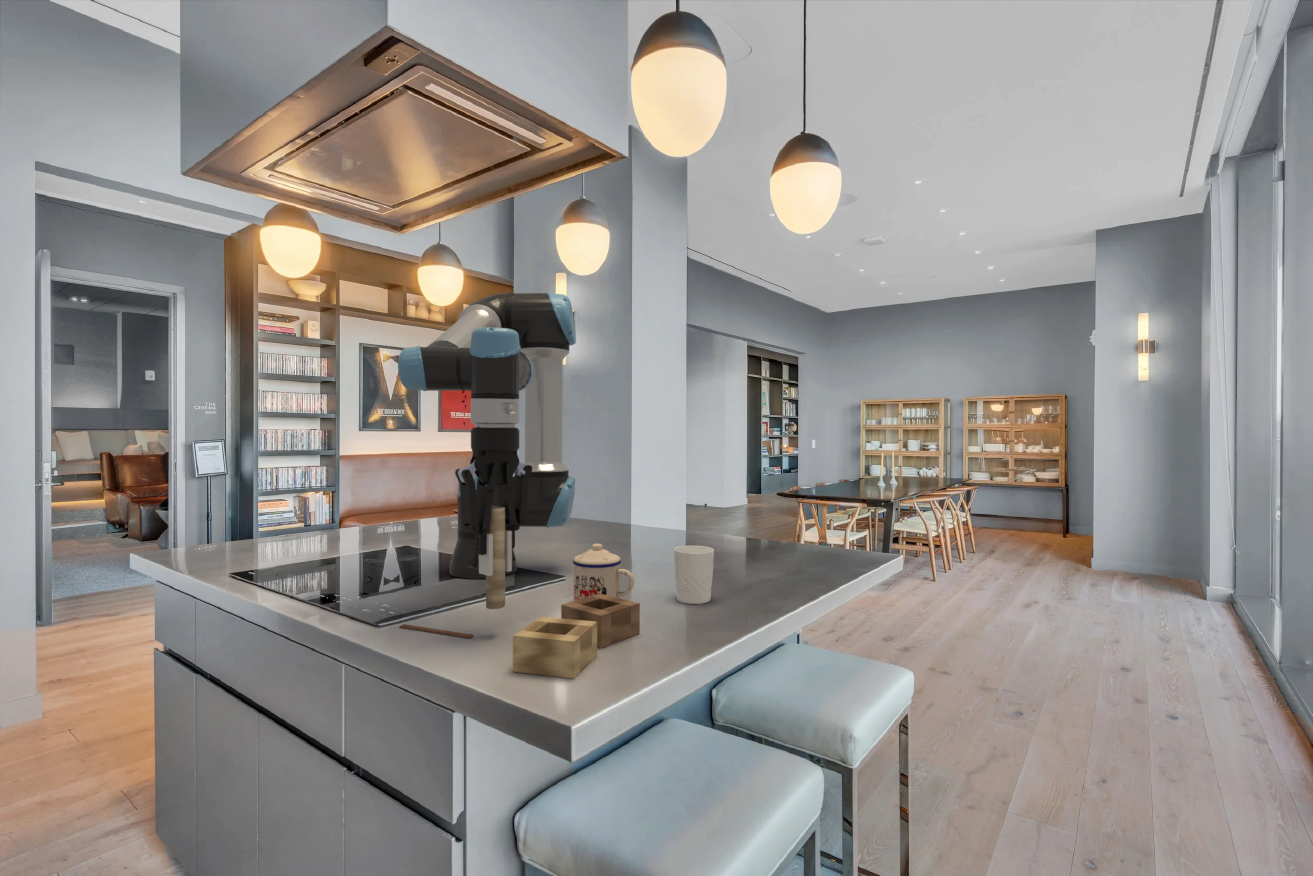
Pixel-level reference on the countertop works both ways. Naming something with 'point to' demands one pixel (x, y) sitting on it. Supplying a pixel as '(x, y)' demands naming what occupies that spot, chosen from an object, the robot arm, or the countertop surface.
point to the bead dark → (606, 617)
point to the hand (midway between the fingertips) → (495, 571)
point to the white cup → (693, 573)
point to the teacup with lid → (599, 574)
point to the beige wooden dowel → (497, 560)
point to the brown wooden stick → (437, 631)
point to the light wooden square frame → (555, 647)
